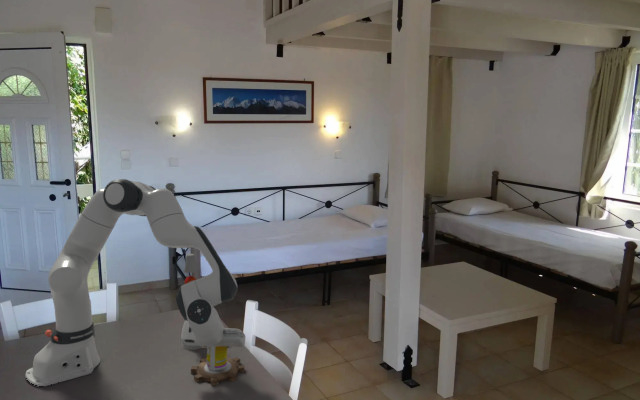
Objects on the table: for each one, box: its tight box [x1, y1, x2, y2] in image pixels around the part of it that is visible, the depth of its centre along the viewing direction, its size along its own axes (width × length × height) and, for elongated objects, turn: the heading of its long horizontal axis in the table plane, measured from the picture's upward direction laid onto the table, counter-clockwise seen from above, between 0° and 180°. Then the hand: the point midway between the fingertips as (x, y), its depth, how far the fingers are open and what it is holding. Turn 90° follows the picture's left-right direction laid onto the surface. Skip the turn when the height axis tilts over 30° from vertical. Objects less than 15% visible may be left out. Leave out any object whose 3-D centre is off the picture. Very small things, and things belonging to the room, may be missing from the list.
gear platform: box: [190, 356, 246, 386], centre depth 168 cm, size 18×18×2 cm
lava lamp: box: [181, 253, 203, 351], centre depth 185 cm, size 9×9×35 cm
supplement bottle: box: [206, 346, 228, 370], centre depth 167 cm, size 7×7×13 cm
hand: (217, 346), depth 167 cm, fingers open, 7 cm apart
